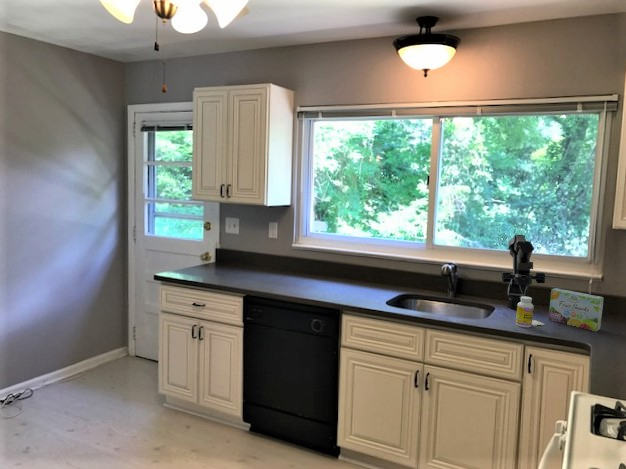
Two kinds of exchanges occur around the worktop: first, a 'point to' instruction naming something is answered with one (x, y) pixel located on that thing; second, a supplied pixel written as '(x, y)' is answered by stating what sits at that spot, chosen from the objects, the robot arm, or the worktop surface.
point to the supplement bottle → (524, 312)
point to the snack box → (576, 309)
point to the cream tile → (536, 323)
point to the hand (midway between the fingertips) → (523, 293)
